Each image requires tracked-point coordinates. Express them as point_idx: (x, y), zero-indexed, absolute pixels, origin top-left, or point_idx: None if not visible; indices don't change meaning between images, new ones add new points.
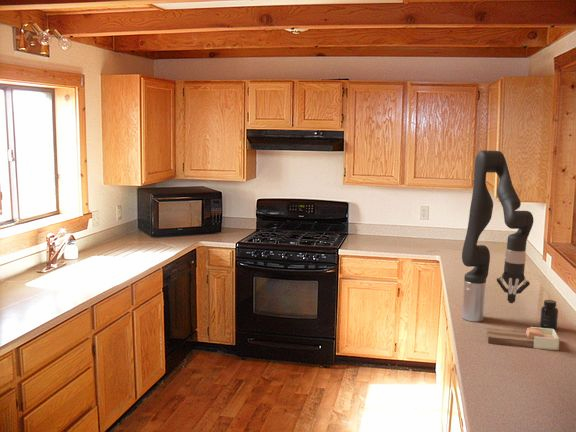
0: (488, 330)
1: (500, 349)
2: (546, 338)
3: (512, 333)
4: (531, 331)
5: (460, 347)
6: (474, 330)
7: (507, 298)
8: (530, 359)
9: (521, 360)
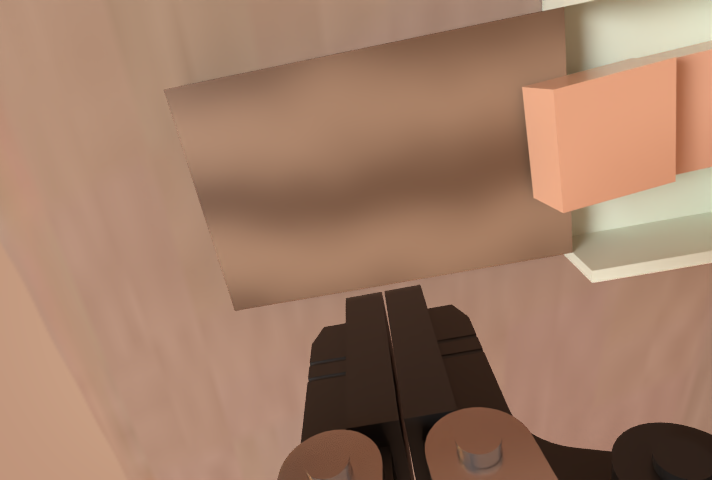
0: (196, 149)
1: None
2: (688, 264)
3: (402, 130)
4: (581, 189)
5: (114, 428)
6: (68, 31)
7: (313, 366)
8: None
9: None
